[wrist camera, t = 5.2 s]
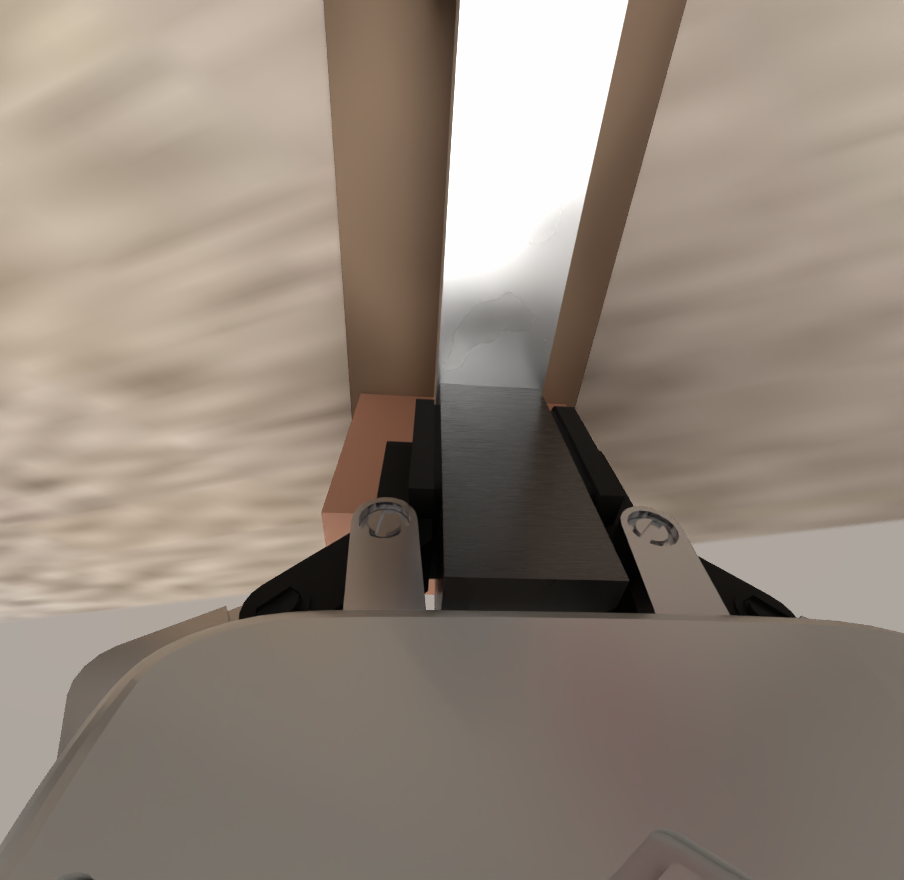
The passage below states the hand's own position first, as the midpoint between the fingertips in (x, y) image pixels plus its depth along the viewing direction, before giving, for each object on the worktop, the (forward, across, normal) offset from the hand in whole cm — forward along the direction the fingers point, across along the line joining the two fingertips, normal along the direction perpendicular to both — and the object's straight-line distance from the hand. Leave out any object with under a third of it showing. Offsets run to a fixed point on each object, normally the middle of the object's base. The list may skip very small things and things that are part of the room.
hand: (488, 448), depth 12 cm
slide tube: (+4, 0, -4) cm, 6 cm away
